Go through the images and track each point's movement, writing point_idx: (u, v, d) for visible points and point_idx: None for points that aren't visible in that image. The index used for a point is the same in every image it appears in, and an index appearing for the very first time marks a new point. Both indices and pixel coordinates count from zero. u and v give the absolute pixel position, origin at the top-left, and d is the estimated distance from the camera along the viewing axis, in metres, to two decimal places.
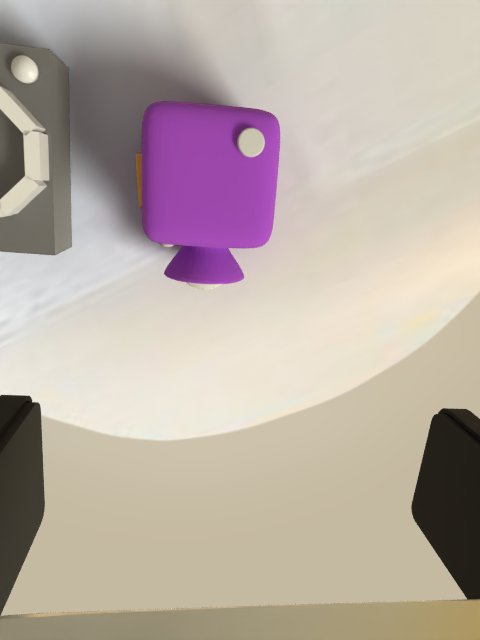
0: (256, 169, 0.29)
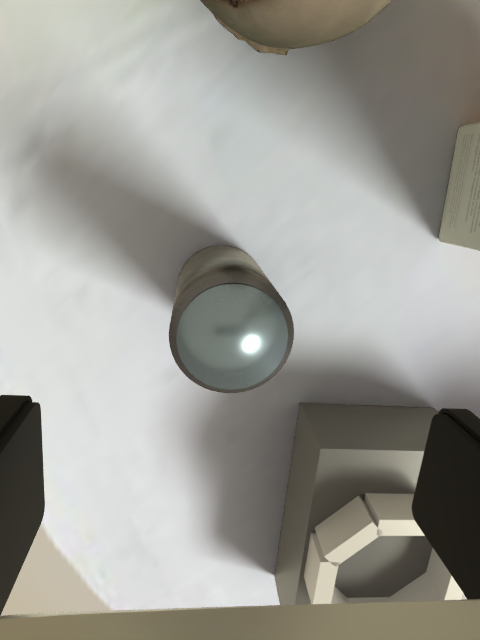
0: None
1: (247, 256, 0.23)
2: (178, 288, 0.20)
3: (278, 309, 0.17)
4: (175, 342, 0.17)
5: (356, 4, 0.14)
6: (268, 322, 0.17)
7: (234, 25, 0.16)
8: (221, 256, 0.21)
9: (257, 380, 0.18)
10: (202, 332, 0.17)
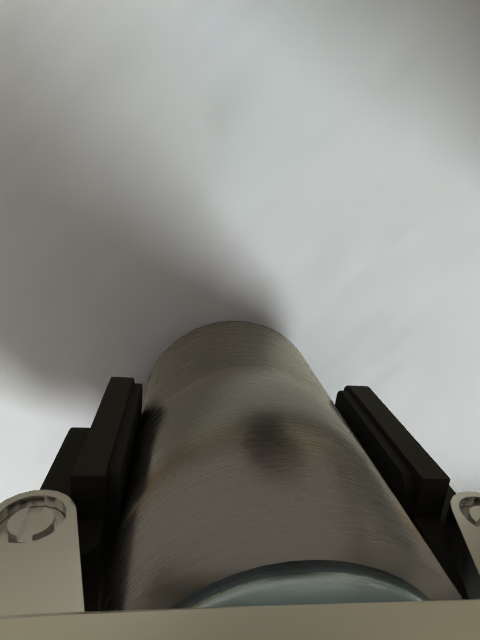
0: None
1: (288, 351, 0.11)
2: (134, 461, 0.08)
3: None
4: None
5: None
6: None
7: None
8: (238, 375, 0.09)
9: None
10: None
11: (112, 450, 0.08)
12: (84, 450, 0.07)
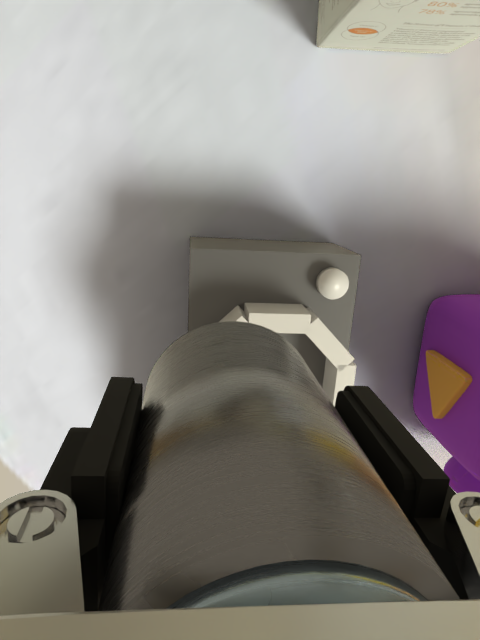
0: None
1: (287, 351, 0.11)
2: (133, 461, 0.08)
3: None
4: None
5: None
6: None
7: None
8: (237, 375, 0.09)
9: None
10: None
11: (112, 449, 0.08)
12: (84, 450, 0.07)
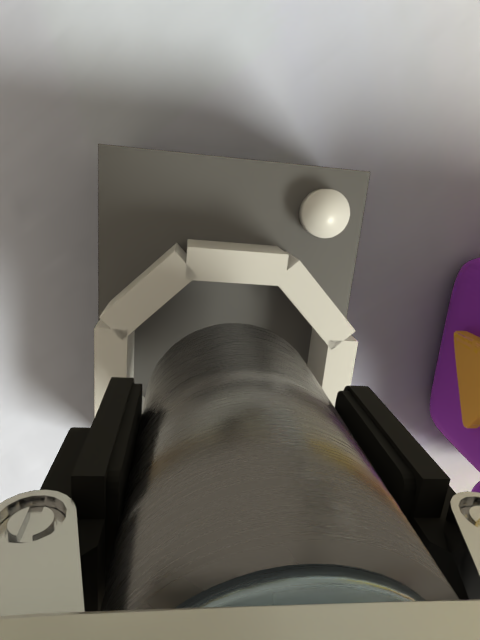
0: None
1: (287, 353, 0.11)
2: (134, 464, 0.08)
3: None
4: None
5: None
6: None
7: None
8: (238, 377, 0.09)
9: None
10: None
11: (112, 449, 0.08)
12: (84, 450, 0.07)
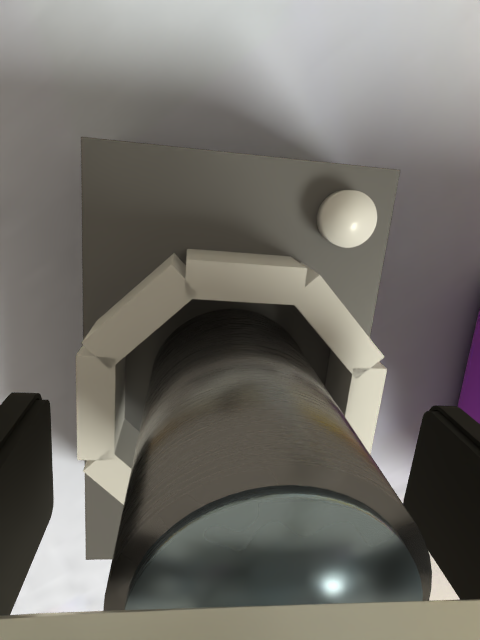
0: None
1: (280, 334, 0.12)
2: (143, 426, 0.10)
3: (403, 552, 0.06)
4: None
5: None
6: (374, 584, 0.06)
7: None
8: (235, 351, 0.10)
9: None
10: None
11: None
12: None
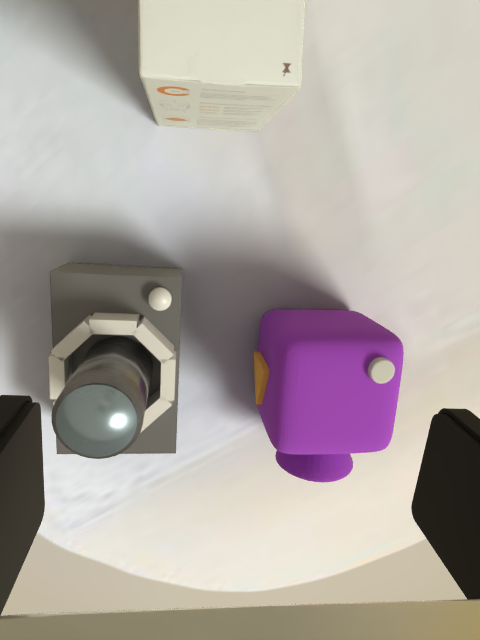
0: (384, 391, 0.31)
1: (131, 346, 0.31)
2: None
3: (127, 400, 0.25)
4: None
5: None
6: (121, 409, 0.25)
7: None
8: (103, 353, 0.28)
9: (118, 449, 0.25)
10: (74, 418, 0.24)
11: None
12: None
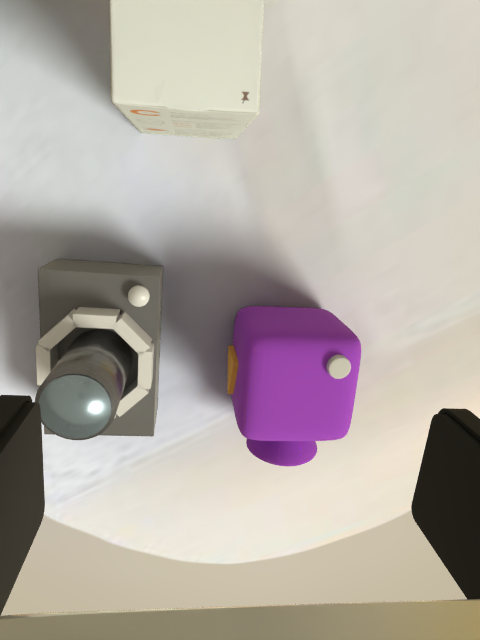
0: (341, 385, 0.34)
1: (111, 339, 0.34)
2: None
3: (102, 389, 0.28)
4: None
5: None
6: (97, 397, 0.28)
7: None
8: (84, 345, 0.31)
9: (94, 432, 0.28)
10: (55, 404, 0.28)
11: None
12: None
